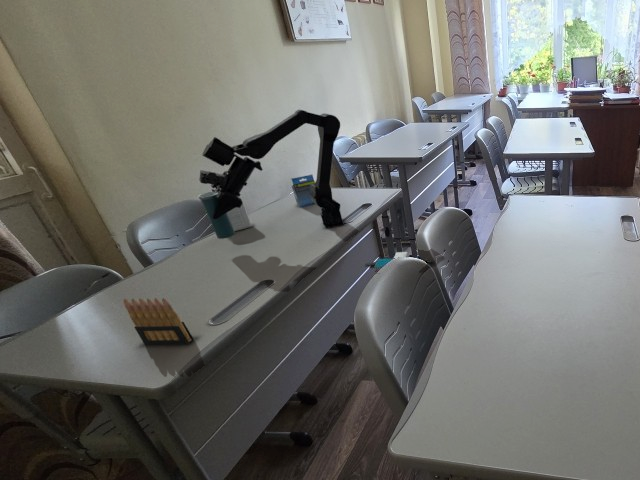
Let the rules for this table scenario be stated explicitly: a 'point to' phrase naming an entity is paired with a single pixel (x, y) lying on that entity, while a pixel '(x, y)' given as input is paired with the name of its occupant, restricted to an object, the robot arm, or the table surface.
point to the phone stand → (386, 261)
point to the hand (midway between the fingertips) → (212, 216)
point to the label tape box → (302, 189)
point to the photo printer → (239, 218)
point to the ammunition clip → (157, 323)
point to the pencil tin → (220, 224)
